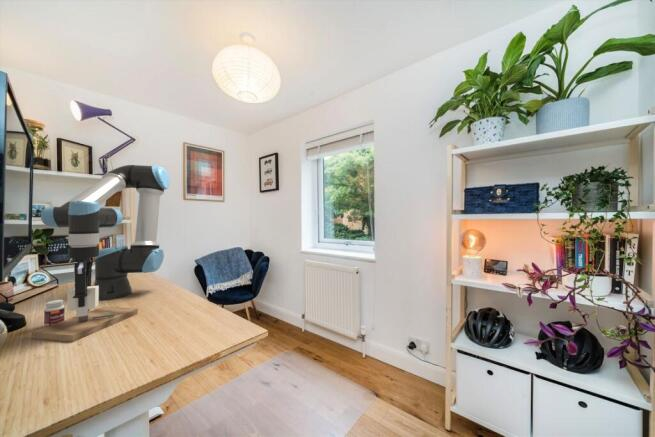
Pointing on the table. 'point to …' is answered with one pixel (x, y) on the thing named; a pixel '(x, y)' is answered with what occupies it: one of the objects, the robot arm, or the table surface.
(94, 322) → the board
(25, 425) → the table surface
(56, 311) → the pill bottle
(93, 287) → the white boxy piece
